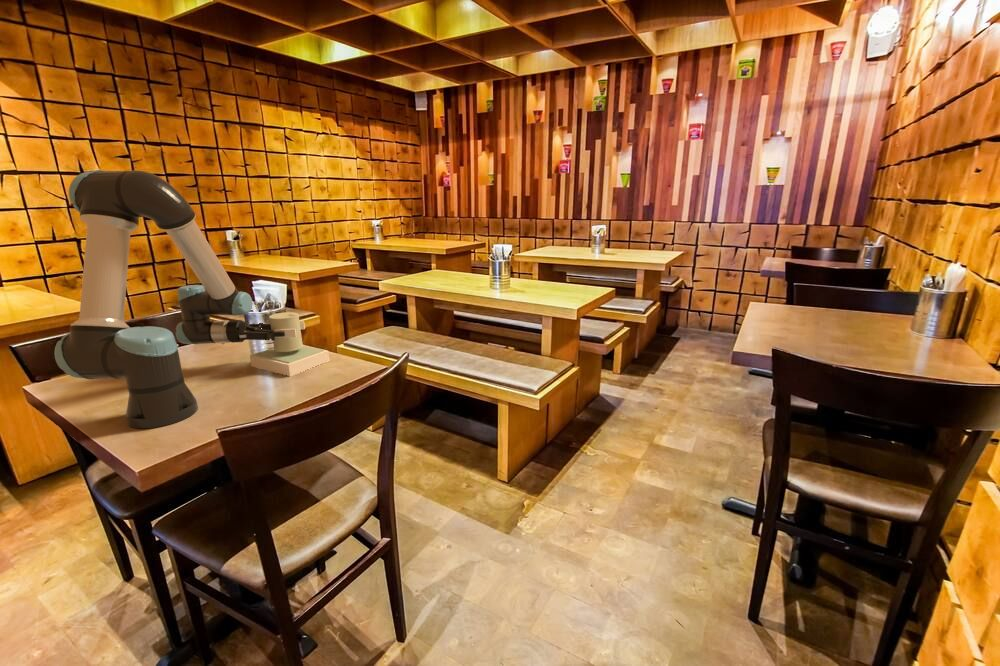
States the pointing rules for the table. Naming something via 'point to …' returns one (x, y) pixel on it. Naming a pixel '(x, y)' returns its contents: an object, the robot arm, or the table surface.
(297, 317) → the can
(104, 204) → the robot arm
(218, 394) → the table surface
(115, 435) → the table surface
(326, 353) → the block
